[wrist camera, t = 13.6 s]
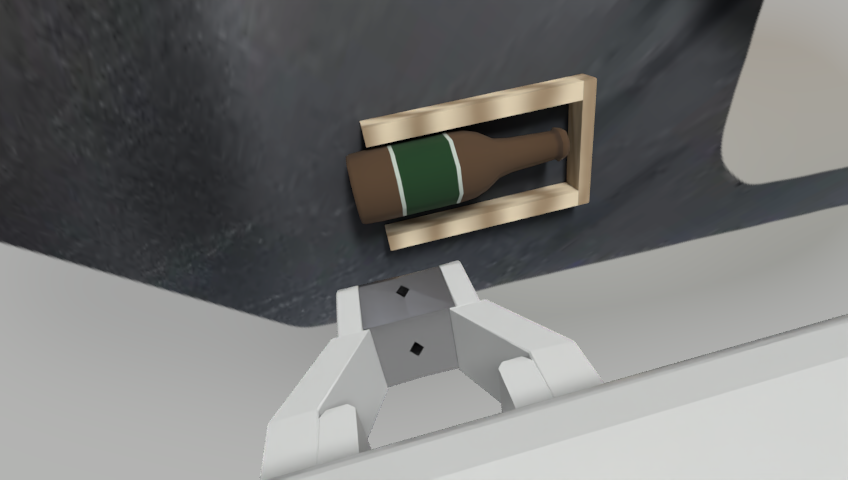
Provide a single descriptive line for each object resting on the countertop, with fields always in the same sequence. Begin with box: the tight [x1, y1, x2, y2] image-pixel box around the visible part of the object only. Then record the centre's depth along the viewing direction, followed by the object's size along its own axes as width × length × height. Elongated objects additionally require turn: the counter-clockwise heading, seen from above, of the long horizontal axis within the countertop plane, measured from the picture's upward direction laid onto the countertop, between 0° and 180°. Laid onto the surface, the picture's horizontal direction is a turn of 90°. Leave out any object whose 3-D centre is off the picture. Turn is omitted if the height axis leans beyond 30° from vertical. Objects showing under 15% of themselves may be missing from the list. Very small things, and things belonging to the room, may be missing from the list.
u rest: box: [360, 74, 597, 251], centre depth 48 cm, size 26×15×3 cm, turn 99°
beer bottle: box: [346, 127, 570, 224], centre depth 45 cm, size 8×8×24 cm
